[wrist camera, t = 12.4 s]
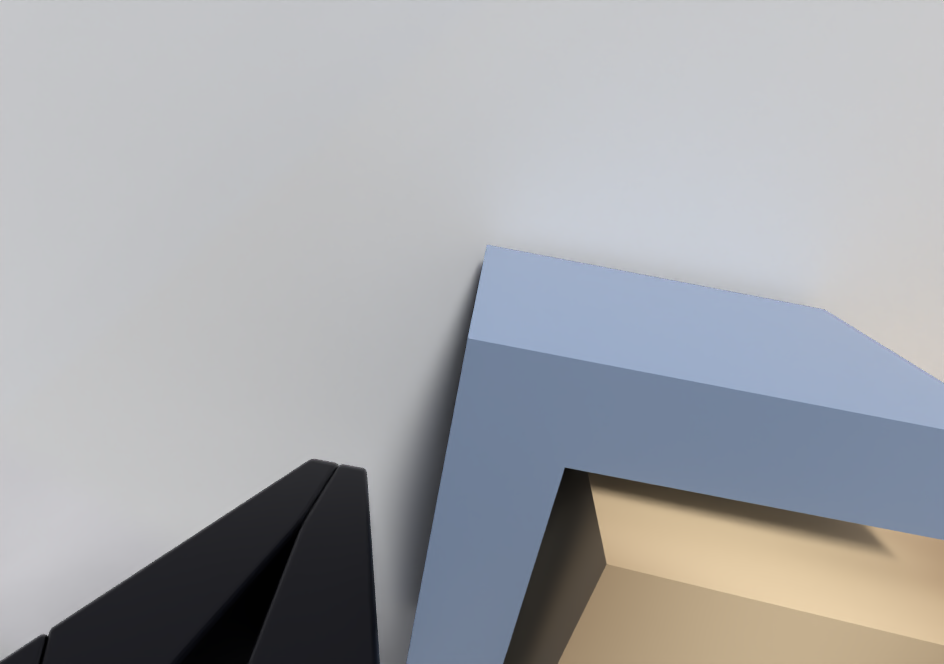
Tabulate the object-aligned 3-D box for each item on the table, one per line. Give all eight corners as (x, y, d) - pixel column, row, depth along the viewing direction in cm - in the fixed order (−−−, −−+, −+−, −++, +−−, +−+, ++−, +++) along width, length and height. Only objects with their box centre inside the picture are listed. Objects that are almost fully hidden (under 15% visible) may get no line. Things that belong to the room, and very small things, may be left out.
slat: (1180, 501, 8) (1779, 846, 4) (1007, 659, 9) (1326, 1008, 6) (561, 345, 7) (606, 563, 4) (495, 535, 9) (482, 817, 5)
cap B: (823, 309, 6) (1053, 449, 4) (644, 668, 10) (698, 890, 7) (487, 244, 6) (466, 337, 4) (415, 623, 10) (374, 828, 7)
